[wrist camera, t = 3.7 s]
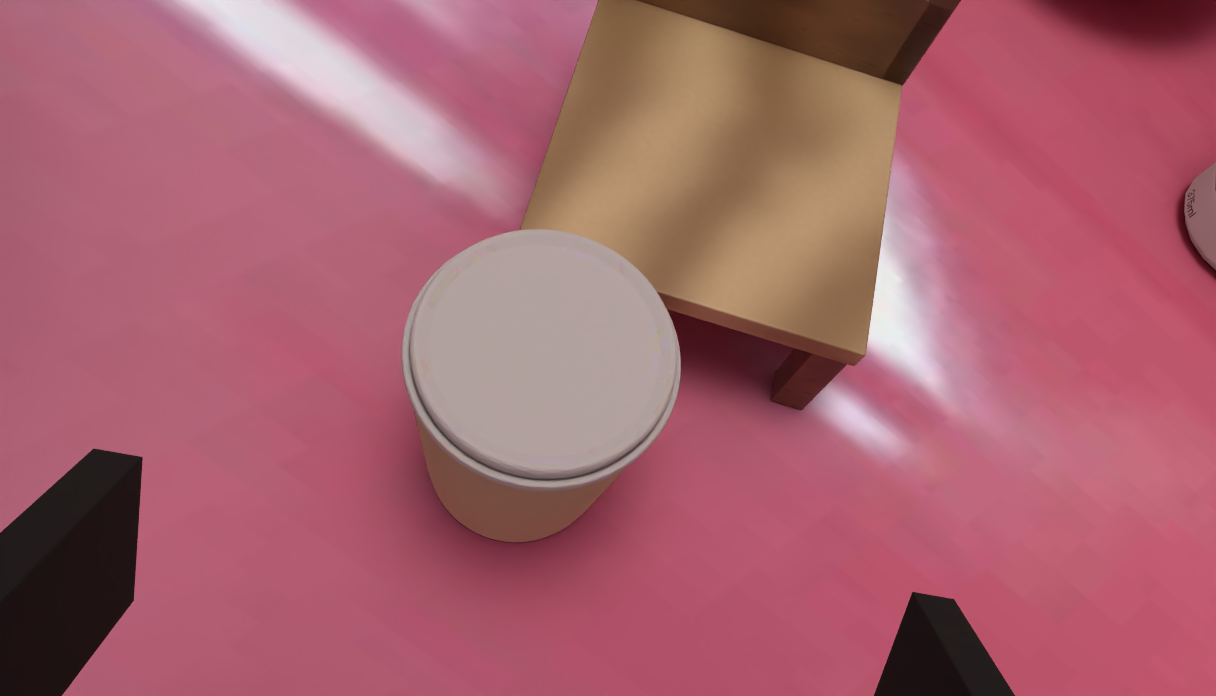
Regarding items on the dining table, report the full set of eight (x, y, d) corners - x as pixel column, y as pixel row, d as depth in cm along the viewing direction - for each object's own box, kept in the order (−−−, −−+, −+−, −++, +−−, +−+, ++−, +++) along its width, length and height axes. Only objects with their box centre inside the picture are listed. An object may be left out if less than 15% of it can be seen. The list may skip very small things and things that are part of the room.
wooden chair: (500, 323, 45) (530, 142, 32) (585, 70, 52) (637, -160, 39) (805, 415, 45) (950, 273, 33) (848, 153, 52) (981, -46, 40)
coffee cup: (660, 496, 42) (739, 397, 32) (473, 605, 39) (491, 536, 28) (553, 327, 45) (594, 182, 34) (369, 416, 42) (349, 286, 31)
